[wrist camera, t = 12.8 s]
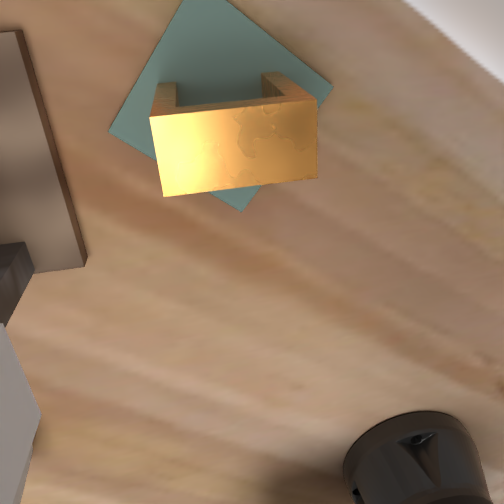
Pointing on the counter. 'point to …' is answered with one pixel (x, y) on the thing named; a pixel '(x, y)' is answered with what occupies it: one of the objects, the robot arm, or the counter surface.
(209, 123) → the orange notched block
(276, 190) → the counter surface
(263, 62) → the mat
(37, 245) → the crossbar stand
